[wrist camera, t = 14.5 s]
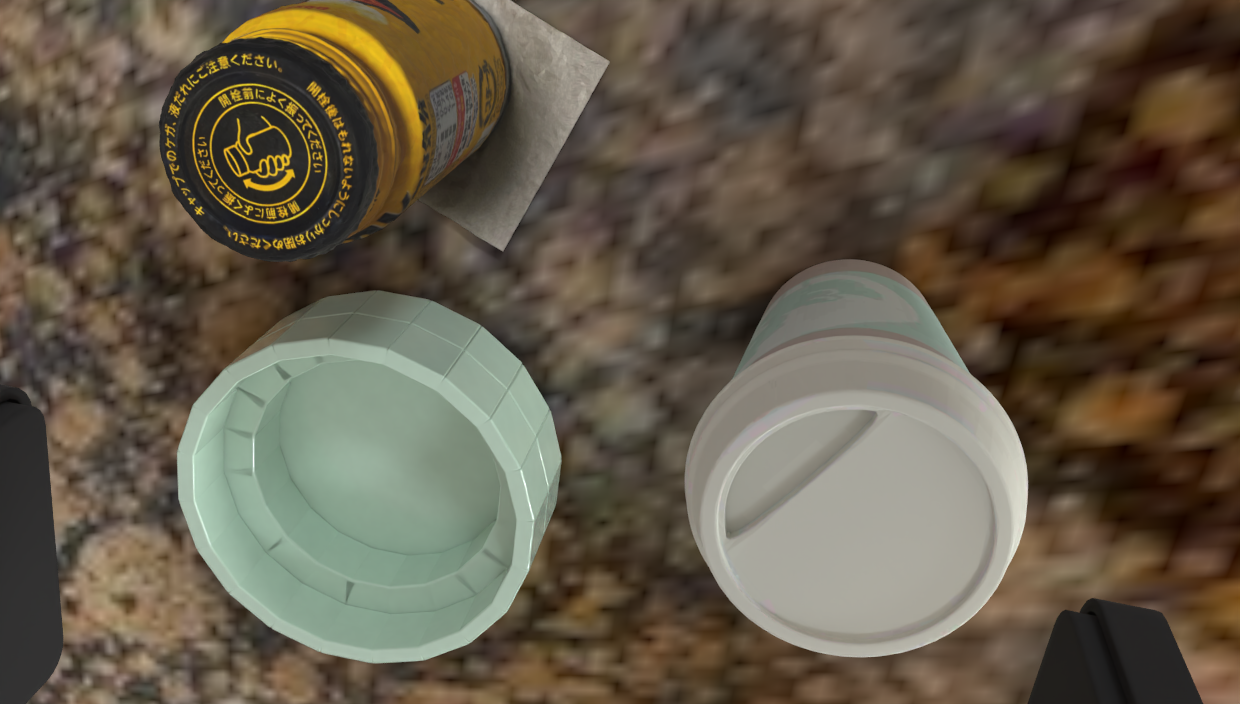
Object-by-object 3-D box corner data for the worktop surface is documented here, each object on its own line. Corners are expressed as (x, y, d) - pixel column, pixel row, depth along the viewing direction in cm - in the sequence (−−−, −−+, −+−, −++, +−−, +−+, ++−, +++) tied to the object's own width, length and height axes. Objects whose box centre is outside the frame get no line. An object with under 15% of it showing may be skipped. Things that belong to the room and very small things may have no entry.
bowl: (243, 258, 42) (171, 308, 37) (581, 319, 40) (550, 378, 36) (244, 548, 47) (181, 623, 42) (546, 610, 45) (514, 694, 41)
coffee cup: (954, 190, 37) (1008, 333, 26) (1000, 432, 40) (1065, 653, 29) (689, 249, 39) (636, 404, 28) (750, 474, 42) (723, 695, 31)
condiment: (374, -85, 36) (178, -57, 25) (611, 61, 37) (519, 149, 26) (285, 116, 39) (76, 219, 28) (505, 248, 40) (384, 399, 29)
